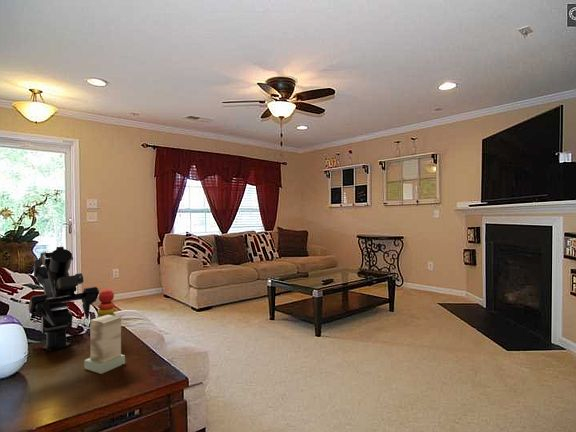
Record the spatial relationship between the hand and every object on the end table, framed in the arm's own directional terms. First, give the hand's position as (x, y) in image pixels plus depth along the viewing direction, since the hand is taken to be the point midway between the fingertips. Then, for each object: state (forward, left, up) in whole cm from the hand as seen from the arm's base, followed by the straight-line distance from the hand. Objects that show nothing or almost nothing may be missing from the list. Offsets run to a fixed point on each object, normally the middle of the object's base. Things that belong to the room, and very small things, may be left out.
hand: (71, 321), depth 110 cm
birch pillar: (+10, +5, -11) cm, 15 cm away
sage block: (+10, +4, -14) cm, 18 cm away
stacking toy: (-10, +18, -14) cm, 25 cm away
